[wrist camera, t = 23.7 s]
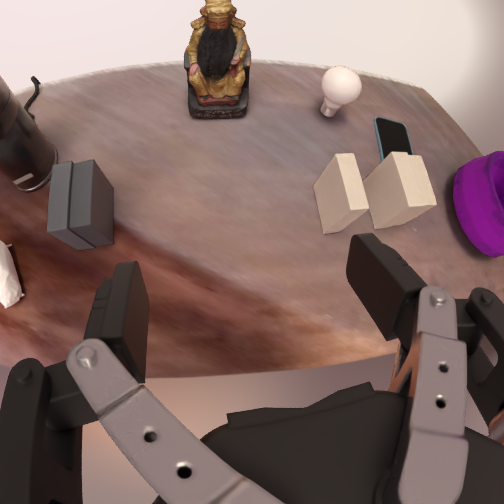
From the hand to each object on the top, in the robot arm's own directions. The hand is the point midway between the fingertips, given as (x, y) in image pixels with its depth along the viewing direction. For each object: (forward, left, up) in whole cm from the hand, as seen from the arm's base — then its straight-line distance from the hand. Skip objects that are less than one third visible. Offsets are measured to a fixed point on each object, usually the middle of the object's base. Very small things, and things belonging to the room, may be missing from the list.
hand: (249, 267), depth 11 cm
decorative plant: (+17, +47, -30) cm, 58 cm away
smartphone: (-2, +39, -30) cm, 50 cm away
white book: (-2, +20, -30) cm, 36 cm away
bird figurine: (-23, -25, -30) cm, 46 cm away
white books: (+3, +29, -30) cm, 42 cm away
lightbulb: (-15, +33, -30) cm, 47 cm away
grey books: (-21, -8, -30) cm, 38 cm away
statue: (-26, +19, -30) cm, 44 cm away
